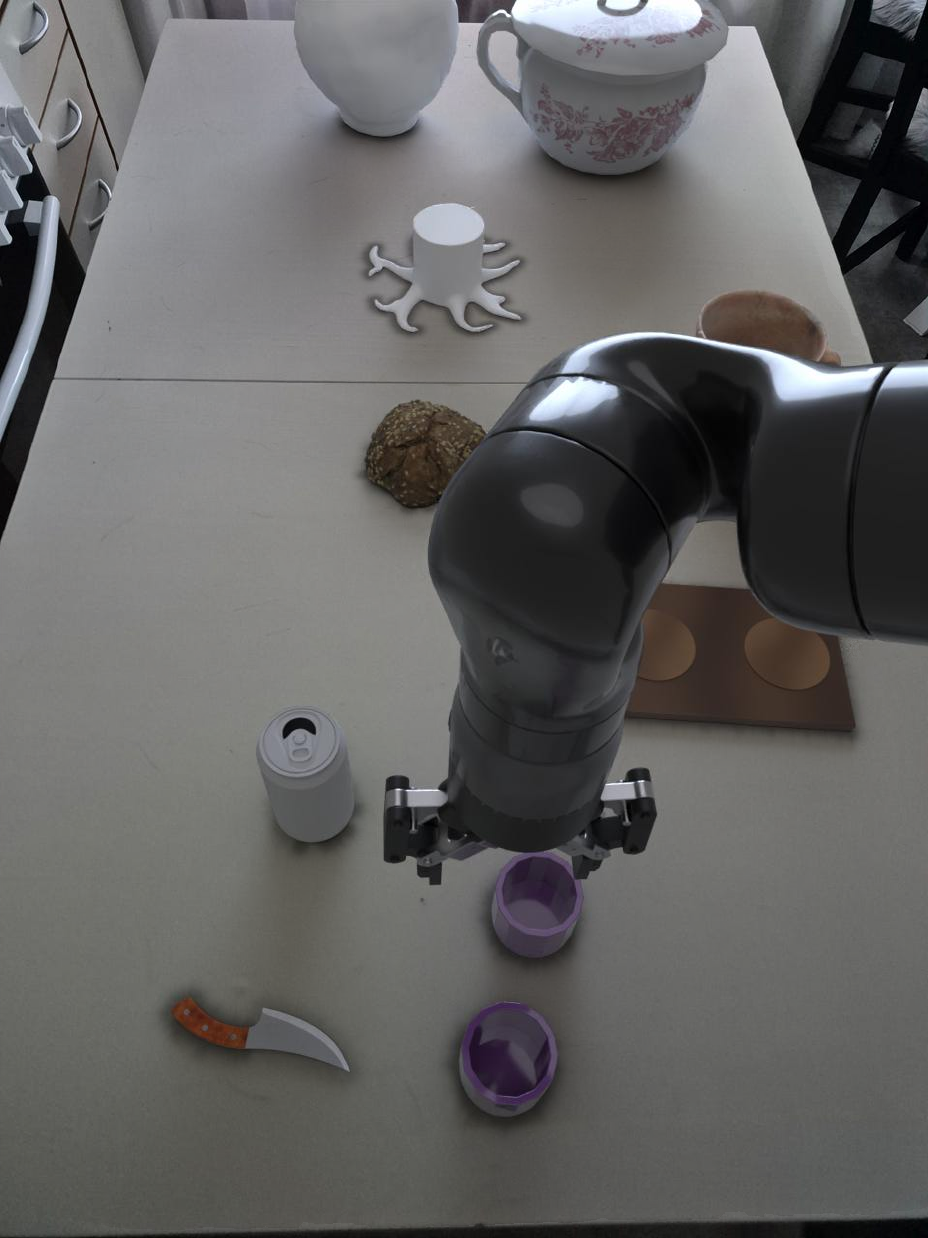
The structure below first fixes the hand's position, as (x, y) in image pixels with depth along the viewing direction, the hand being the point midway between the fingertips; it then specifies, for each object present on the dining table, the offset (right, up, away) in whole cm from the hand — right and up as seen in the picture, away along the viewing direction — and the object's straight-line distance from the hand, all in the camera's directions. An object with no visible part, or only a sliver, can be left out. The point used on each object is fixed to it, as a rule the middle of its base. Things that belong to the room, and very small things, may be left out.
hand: (506, 866), depth 57 cm
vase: (-15, +86, +80) cm, 118 cm away
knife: (-17, -14, +11) cm, 24 cm away
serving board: (+20, +11, +30) cm, 38 cm away
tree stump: (-5, +55, +59) cm, 81 cm away
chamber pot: (+16, +81, +78) cm, 113 cm away
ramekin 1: (+3, -8, +16) cm, 18 cm away
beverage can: (-14, -1, +20) cm, 25 cm away
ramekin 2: (0, -17, +10) cm, 19 cm away
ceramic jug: (+26, +34, +46) cm, 63 cm away
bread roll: (-7, +31, +42) cm, 53 cm away
